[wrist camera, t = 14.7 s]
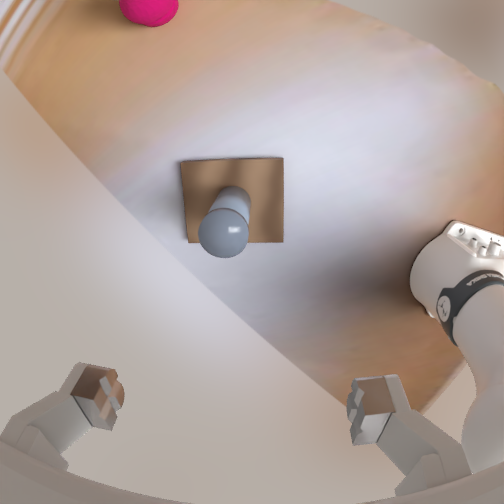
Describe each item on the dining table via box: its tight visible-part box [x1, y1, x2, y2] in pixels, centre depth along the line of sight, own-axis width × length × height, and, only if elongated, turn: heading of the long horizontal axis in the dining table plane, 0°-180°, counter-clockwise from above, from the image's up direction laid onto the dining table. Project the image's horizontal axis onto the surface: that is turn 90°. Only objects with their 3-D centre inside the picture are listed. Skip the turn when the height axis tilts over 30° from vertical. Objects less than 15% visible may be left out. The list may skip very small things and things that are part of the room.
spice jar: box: [198, 186, 251, 258], centre depth 39 cm, size 5×5×11 cm
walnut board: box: [181, 158, 284, 243], centre depth 44 cm, size 14×12×2 cm
